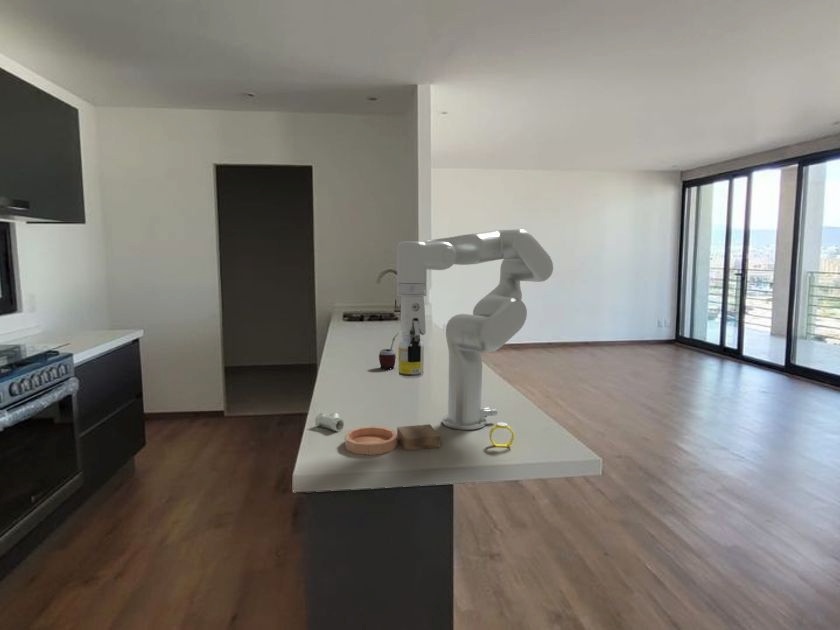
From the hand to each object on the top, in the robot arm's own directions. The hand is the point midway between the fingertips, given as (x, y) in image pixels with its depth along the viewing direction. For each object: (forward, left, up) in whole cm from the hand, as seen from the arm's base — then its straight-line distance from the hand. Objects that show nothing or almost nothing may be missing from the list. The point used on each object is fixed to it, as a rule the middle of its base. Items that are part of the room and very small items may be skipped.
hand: (411, 358), depth 131 cm
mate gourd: (-11, -83, -22) cm, 87 cm away
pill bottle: (0, 0, -5) cm, 5 cm away
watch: (-21, +11, -22) cm, 32 cm away
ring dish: (+11, +2, -22) cm, 24 cm away
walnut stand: (-1, +3, -22) cm, 22 cm away
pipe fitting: (+19, -14, -22) cm, 32 cm away
